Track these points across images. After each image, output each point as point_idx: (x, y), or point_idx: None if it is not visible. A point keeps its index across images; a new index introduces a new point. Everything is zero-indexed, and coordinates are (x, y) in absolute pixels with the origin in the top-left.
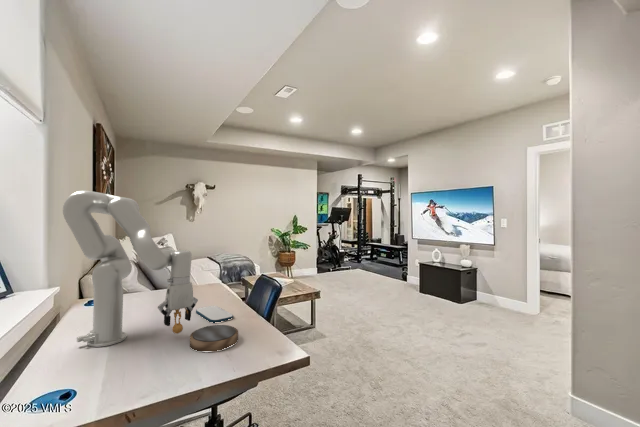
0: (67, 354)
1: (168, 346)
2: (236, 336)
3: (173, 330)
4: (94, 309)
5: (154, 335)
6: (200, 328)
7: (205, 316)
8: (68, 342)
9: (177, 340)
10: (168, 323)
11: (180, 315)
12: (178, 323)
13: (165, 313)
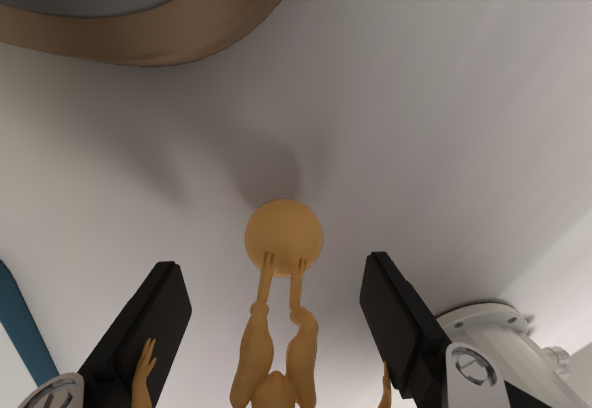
0: (577, 313)
1: (404, 98)
2: None
3: (320, 226)
4: None
5: (344, 291)
6: (114, 1)
7: (16, 344)
8: None
9: (313, 148)
10: (395, 267)
11: (254, 335)
12: (279, 263)
13: (510, 404)
